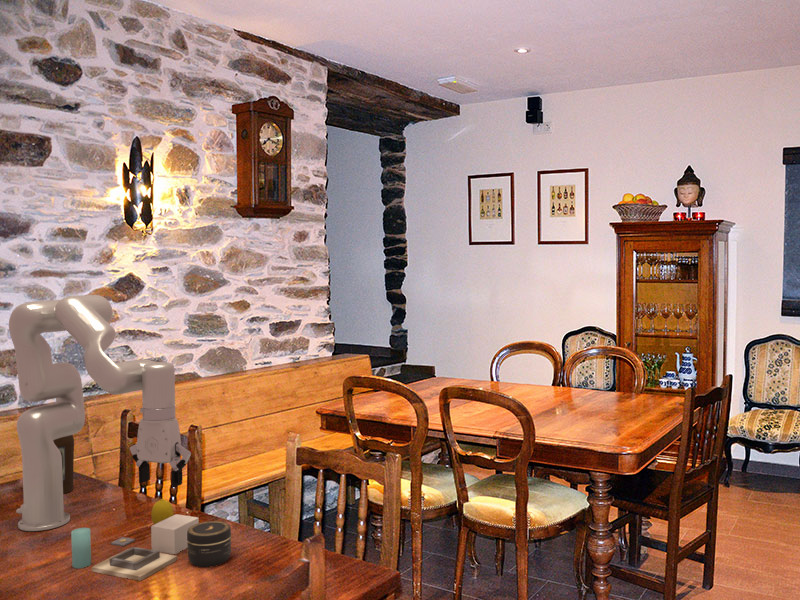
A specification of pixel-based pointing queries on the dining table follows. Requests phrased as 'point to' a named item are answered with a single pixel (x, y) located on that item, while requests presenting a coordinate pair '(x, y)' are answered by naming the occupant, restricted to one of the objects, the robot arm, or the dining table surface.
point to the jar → (209, 543)
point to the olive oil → (66, 461)
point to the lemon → (161, 511)
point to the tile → (123, 541)
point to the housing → (172, 533)
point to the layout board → (135, 563)
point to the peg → (81, 547)
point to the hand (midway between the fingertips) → (160, 483)
